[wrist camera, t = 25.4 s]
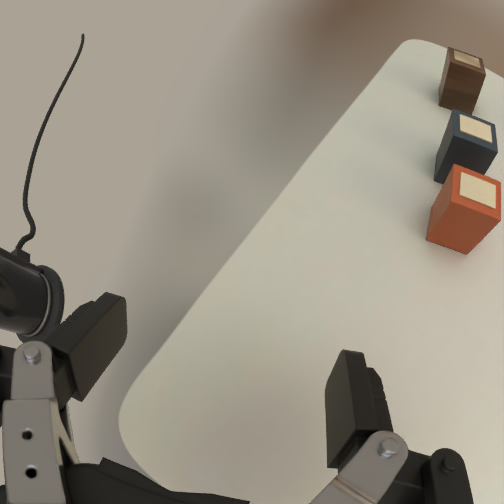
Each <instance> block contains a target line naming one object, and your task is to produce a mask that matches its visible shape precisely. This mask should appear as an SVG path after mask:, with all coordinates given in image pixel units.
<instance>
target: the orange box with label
mask: <svg viewBox="0 0 504 504" xmlns="http://www.w3.org/2000/svg"><path fill="white" fill-rule="evenodd" d="M500 221H501V182H499V181H497V180H494V179H492V178H490V177H487V176H485V175H482V174H480V173H477V172H475V171H472V170H470V169H467V168H464V167H462V166H459V165H456V164H453V167H452V169H451V171H450V173H449V175H448V177H447V179H446V181H445V183H444V185H443V187H442V189H441V191H440V193H439V195H438V196H437V198H436V200H435V202H434V204H433V206H432V208H431V215H430V221H429V227H428V232H427V237H426V240H428V241H431V242H433V243H436V244H439V245H442V246H445V247H448V248H451V249H453V250H456V251H459V252H462V253H464V254H468V253H469V252H470V251H471V250H472V249H473V248H474V247H475V246H476V245H477V244H478V243H479V242H480V241H481V240H482V239H483V238H484V237H485V236H486V235H487V234H488V233H489V232H490V231H491V230H492V229H493V228H494V227H495V226H496V225H497V224H498V223H499V222H500Z"/></svg>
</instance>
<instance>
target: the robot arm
mask: <svg viewBox="0 0 504 504" xmlns="http://www.w3.org/2000/svg"><path fill="white" fill-rule="evenodd" d="M83 44H84V34H82V40H81V45H80V48H79V50H78V53H77V55H76V57H75V59H74V61H73V64H72V65H71V68H70V69H69V71H68V73H67V75H66V77H65V79H64V81H63V82H62V85H61V87H60V88H59V90H58V92H57V94H56V96H55V98H54V100H53V102H52V104H51V106H50V108H49V110H48V112H47V115H46V117H45V119H44V122H43V124H42V127H41V129H40V132H39V134H38V136H37V139H36V142H35V145H34V148H33V151H32V155H31V158H30V163H29V167H28V171H27V176H26V181H25V186H24V192H23V209H24V212H25V215H26V217H27V220H28V222H29V224H30V228H31V229H30V233H29V234H28V235H25V236H24V237H22V238H21V240H20V241H19V242H18V244H17V246H16V249H15V250H14V251H12V252H11V253H10V252H8V251H6V250H4V249H2V248H0V329H3V330H7V331H11V332H14V333H17V334H20V335H23V336H27V337H35V336H37V335H38V334H40V333H41V332H42V331H43V329H44V328H45V326H46V324H47V322H48V320H49V317H50V314H51V310H52V303H53V293H52V287H51V284H50V281H49V280H48V278H47V277H46V276H45V275H44V269H42V268H40V267H38V266H36V265H34V264H32V263H30V254H28V253H27V252H25V251H23V250H21V248H22V247H23V245H24V244H25V242H27V241H28V240H31V239H32V238H33V237H34V235H35V231H36V227H35V223H34V220H33V218H32V216H31V214H30V212H29V209H28V204H27V198H28V189H29V183H30V178H31V173H32V168H33V163H34V159H35V156H36V152H37V149H38V146H39V143H40V139H41V137H42V134H43V131H44V129H45V126H46V124H47V121H48V119H49V117H50V114H51V112H52V110H53V108H54V106H55V104H56V102H57V100H58V97H59V95H60V93H61V92H62V90H63V87H64V86H65V84H66V82H67V80H68V78H69V76H70V74H71V72H72V70H73V68H74V66H75V64H76V62H77V60H78V58H79V55H80V53H81V50H82V48H83ZM126 337H127V312H126V300H125V298H124V297H121V296H118V295H115V294H111V293H108V292H105V293H104V294H103V295H102V296H101V297H99V298H98V299H97V300H96V301H95V302H94V301H90V302H88V303H86V304H83V305H81V306H79V307H78V308H77V309H76V310H75V311H74V312H73V313H72V315H70V316H69V317H68V318H67V319H66V321H63V322H62V323H61V324H60V325H59V326H58V327H57V328H56V329H55V330H54V331H53V332H52V333H51V334H50V335H49V336H48V337H47V338H46V339H45V340H44V341H43V342H40V341H29V342H26V343H23V344H22V345H20V346H19V347H18V348H17V349H15V348H10V347H6V346H1V345H0V427H1V426H2V438H3V439H2V440H3V462H4V476H5V485H1V486H0V504H249V502H250V501H245V500H240V499H234V498H229V497H225V496H220V495H216V494H207V493H187V492H174V491H170V490H167V489H165V488H164V487H162V486H160V485H159V484H157V483H155V482H153V481H152V480H150V479H149V478H147V477H145V476H144V475H142V474H141V473H139V472H138V471H136V470H133V469H130V468H128V467H126V466H123V465H120V464H118V463H115V462H113V461H111V460H108V459H106V458H104V457H103V459H102V460H101V462H100V464H99V465H98V464H90V463H80V460H79V457H78V455H77V452H76V448H75V444H74V439H73V433H72V428H71V421H70V415H69V407H68V404H67V402H68V401H69V400H70V398H71V397H73V398H74V399H76V400H79V401H81V402H82V401H83V400H84V398H85V397H86V396H87V394H88V393H89V391H90V390H91V389H92V387H93V386H94V384H95V383H96V382H97V380H98V379H99V377H100V376H101V375H102V373H103V372H104V371H105V369H106V368H107V367H108V365H109V364H110V362H111V361H112V360H113V358H114V357H115V356H116V354H117V353H118V352H119V350H120V349H121V348H122V346H123V345H124V343H125V340H126ZM385 399H386V397H385V393H384V391H383V385H382V381H381V378H380V377H379V375H378V374H377V373H376V371H375V370H374V369H373V368H369V367H366V362H365V358H364V354H363V353H362V352H356V351H349V350H342V351H341V352H340V354H339V356H338V358H337V361H336V363H335V365H334V367H333V370H332V372H331V374H330V376H329V378H328V381H327V384H326V389H325V410H326V437H327V468H338V475H337V476H336V477H335V478H334V479H333V480H332V481H331V482H330V483H329V484H328V485H327V486H326V487H325V488H324V489H323V490H322V491H321V492H320V493H319V494H318V495H317V496H316V497H315V498H314V499H313V500H312V501H311V502H310V503H309V504H474V503H473V498H472V493H471V488H470V484H469V479H468V475H467V471H466V467H465V463H464V461H463V459H462V457H461V456H460V455H459V454H458V453H457V452H456V451H454V450H452V449H448V448H442V449H439V450H437V451H435V452H434V453H433V454H432V455H431V456H427V455H424V454H420V453H417V452H413V451H410V450H408V446H407V444H406V442H405V441H404V440H403V438H401V437H400V436H399V435H398V434H396V433H394V432H393V427H392V423H391V418H390V414H389V410H388V405H387V401H386V400H385Z"/></svg>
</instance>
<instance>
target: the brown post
mask: <svg viewBox="0 0 504 504" xmlns="http://www.w3.org/2000/svg"><path fill="white" fill-rule="evenodd" d="M485 76H486V73H485V69H484V65H483V61H482V59H481V58H478V57H476V56H473V55H470V54H468V53H465V52H462V51H459V50H456V49H453V48H450V47H448V50H447V55H446V60H445V65H444V69H443V74H442V78H441V83H440V87H439V106H442V107H445V108H448V109H451V110H453V109H456V110H459V111H462V112H464V113H467V114H470V115H472V112H473V110H474V107H475V105H476V102H477V99H478V96H479V94H480V91H481V88H482V85H483V82H484V79H485Z"/></svg>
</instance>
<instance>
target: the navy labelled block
mask: <svg viewBox="0 0 504 504" xmlns="http://www.w3.org/2000/svg"><path fill="white" fill-rule="evenodd" d="M497 153H498V149H497V138H496V130H495V124H492V123H490V122H488V121H485V120H483V119H480V118H478V117H475V116H472V115H470V114H467V113H464V112H462V111H459V110H456V109H453V110H452V113H451V116H450V119H449V122H448V125H447V128H446V131H445V133H444V136H443V139H442V142H441V144H440V147H439V150H438V152H437V155H436V166H435V176H434V181H436V182H439V183H442V184H444V183H445V181H446V179H447V177H448V175H449V173H450V171H451V169H452V167H453V164H456V165H459V166H462V167H464V168H467V169H470V170H472V171H475V172H477V173H480V174H482V175H485V173H486V171H487V170H488V168H489V166H490V165H491V163H492V161H493V160H494V158H495V156H496V155H497Z"/></svg>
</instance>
